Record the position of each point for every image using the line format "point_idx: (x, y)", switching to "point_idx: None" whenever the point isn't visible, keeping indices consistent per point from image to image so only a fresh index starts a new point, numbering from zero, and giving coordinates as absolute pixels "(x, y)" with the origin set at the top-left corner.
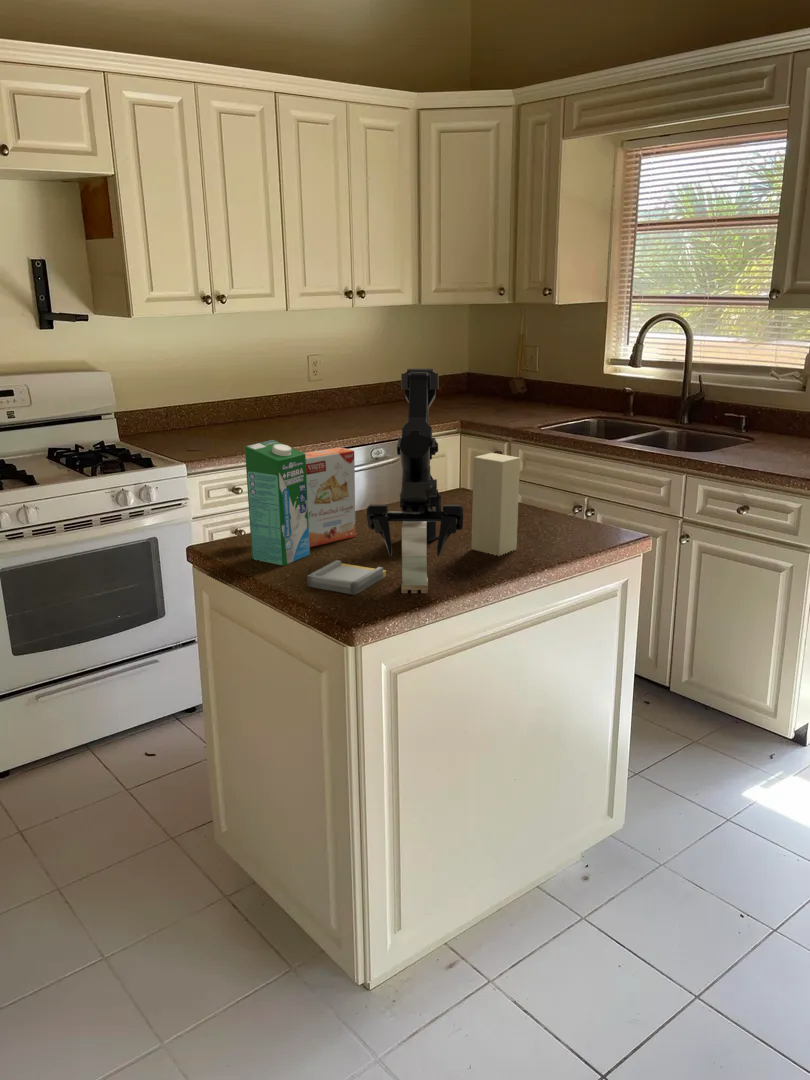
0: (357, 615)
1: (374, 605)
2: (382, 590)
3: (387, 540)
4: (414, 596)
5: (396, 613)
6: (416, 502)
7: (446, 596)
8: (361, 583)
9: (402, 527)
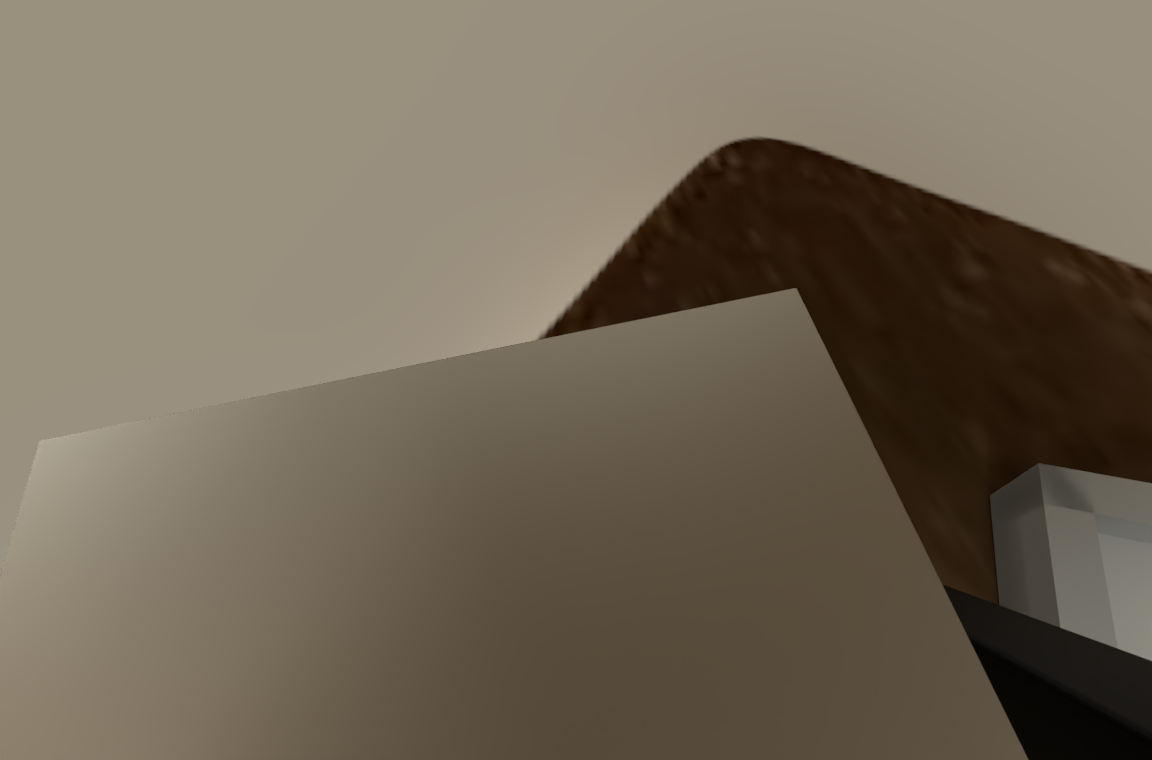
0: (789, 226)
1: None
2: None
3: (1137, 680)
4: None
5: (600, 289)
6: None
7: None
8: (1034, 572)
9: (794, 336)
